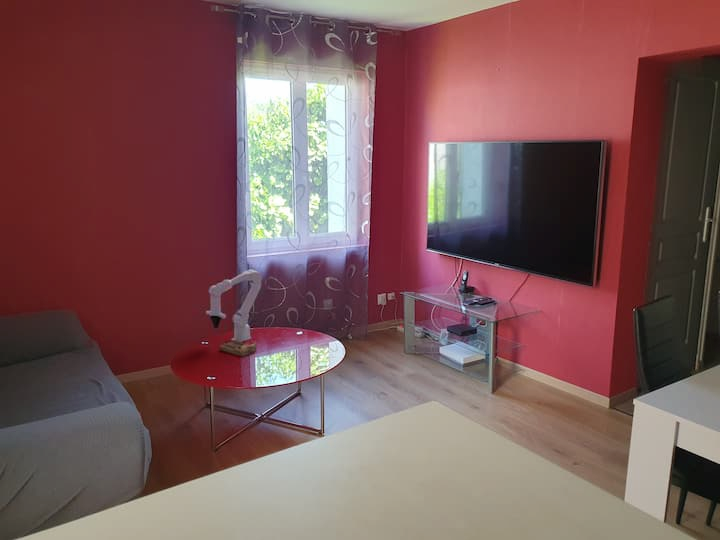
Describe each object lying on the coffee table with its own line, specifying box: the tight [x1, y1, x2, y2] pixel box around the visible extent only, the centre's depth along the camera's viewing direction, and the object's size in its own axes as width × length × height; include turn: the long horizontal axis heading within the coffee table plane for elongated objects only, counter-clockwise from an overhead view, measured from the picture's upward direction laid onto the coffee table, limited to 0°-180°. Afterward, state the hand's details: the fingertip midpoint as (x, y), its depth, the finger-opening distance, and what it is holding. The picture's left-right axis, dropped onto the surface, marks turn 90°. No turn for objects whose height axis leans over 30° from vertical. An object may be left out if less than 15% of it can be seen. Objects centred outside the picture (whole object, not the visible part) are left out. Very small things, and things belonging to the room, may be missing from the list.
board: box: [219, 340, 257, 357], centre depth 326 cm, size 11×18×4 cm, turn 58°
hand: (216, 327), depth 336 cm, fingers closed
